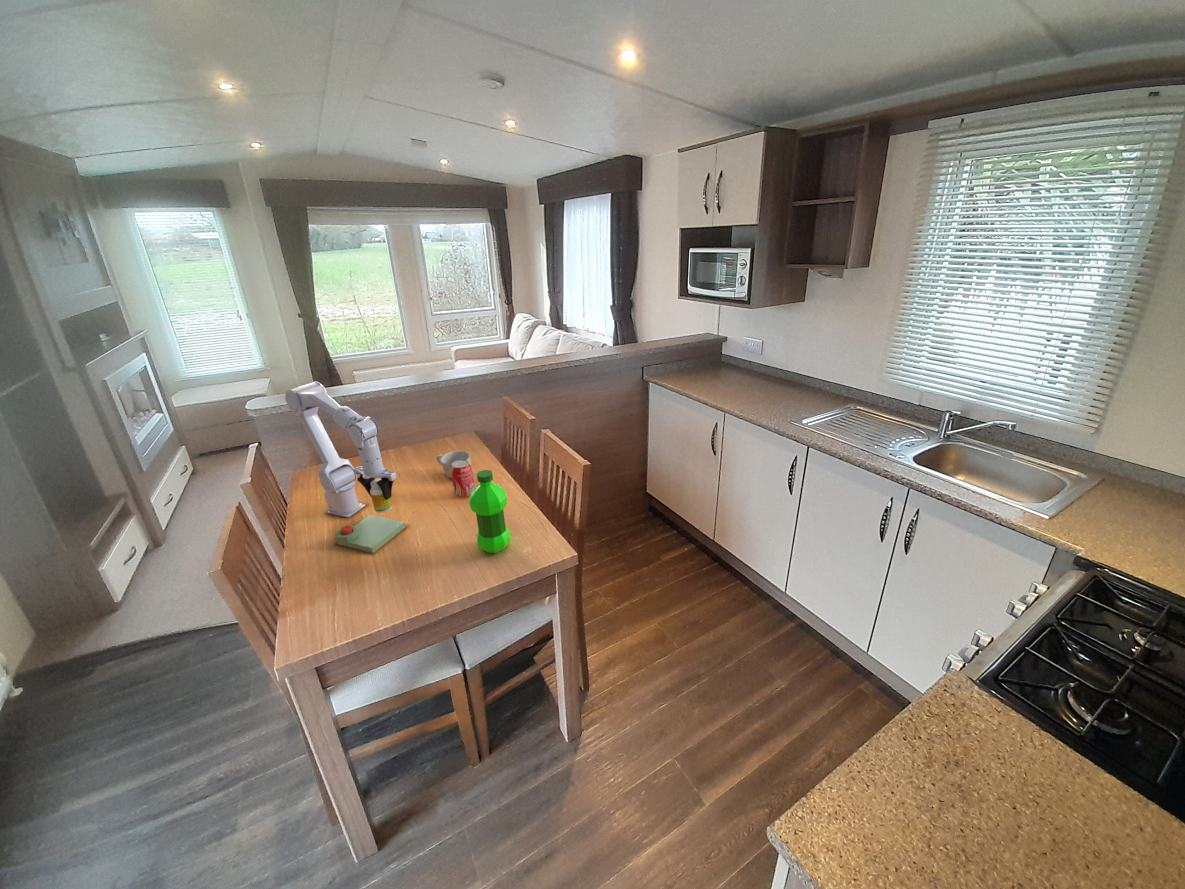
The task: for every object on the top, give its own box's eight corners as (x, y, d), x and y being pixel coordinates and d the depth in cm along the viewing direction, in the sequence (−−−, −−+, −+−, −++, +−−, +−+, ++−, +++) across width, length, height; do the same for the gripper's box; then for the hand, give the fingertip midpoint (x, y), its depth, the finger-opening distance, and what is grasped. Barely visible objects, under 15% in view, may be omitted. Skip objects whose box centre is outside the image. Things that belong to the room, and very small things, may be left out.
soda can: (456, 488, 173) (451, 459, 168) (476, 487, 173) (472, 458, 168) (453, 499, 167) (448, 468, 161) (473, 497, 167) (469, 467, 162)
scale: (334, 544, 144) (331, 535, 143) (370, 519, 157) (368, 510, 155) (371, 554, 140) (369, 544, 138) (405, 527, 152) (403, 518, 150)
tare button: (339, 534, 144) (338, 530, 143) (347, 528, 146) (346, 524, 146) (347, 536, 143) (345, 532, 142) (354, 530, 145) (353, 526, 145)
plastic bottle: (518, 550, 139) (509, 475, 129) (484, 563, 134) (472, 486, 124) (505, 533, 147) (495, 461, 136) (472, 545, 142) (459, 471, 132)
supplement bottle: (386, 513, 148) (379, 486, 144) (371, 512, 149) (364, 485, 145) (396, 504, 153) (389, 478, 149) (381, 503, 154) (374, 477, 150)
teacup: (478, 472, 184) (475, 453, 181) (457, 484, 176) (454, 465, 172) (453, 464, 191) (450, 446, 187) (432, 475, 183) (428, 457, 179)
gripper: (342, 460, 142) (353, 499, 148) (380, 467, 138) (390, 506, 143) (359, 450, 148) (369, 488, 154) (397, 456, 144) (406, 495, 149)
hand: (380, 496), depth 149 cm, fingers closed on supplement bottle, 5 cm apart
